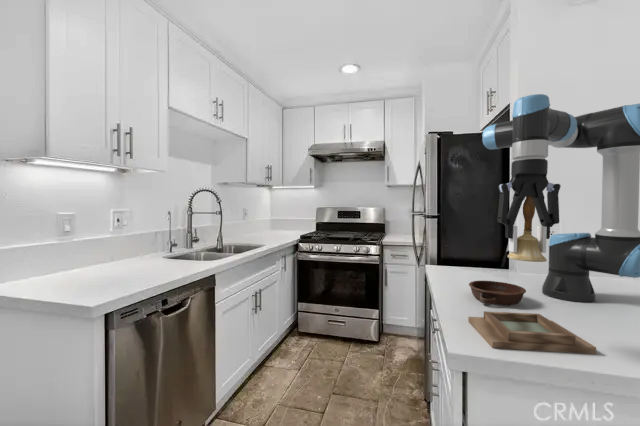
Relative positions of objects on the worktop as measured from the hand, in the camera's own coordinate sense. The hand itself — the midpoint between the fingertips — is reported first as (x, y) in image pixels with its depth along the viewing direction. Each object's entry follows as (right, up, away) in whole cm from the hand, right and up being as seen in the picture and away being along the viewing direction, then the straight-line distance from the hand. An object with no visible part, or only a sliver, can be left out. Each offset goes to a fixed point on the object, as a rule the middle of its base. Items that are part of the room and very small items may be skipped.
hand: (526, 251), depth 78 cm
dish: (+10, -21, +31) cm, 39 cm away
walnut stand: (0, -22, +1) cm, 22 cm away
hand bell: (0, -2, 0) cm, 2 cm away
